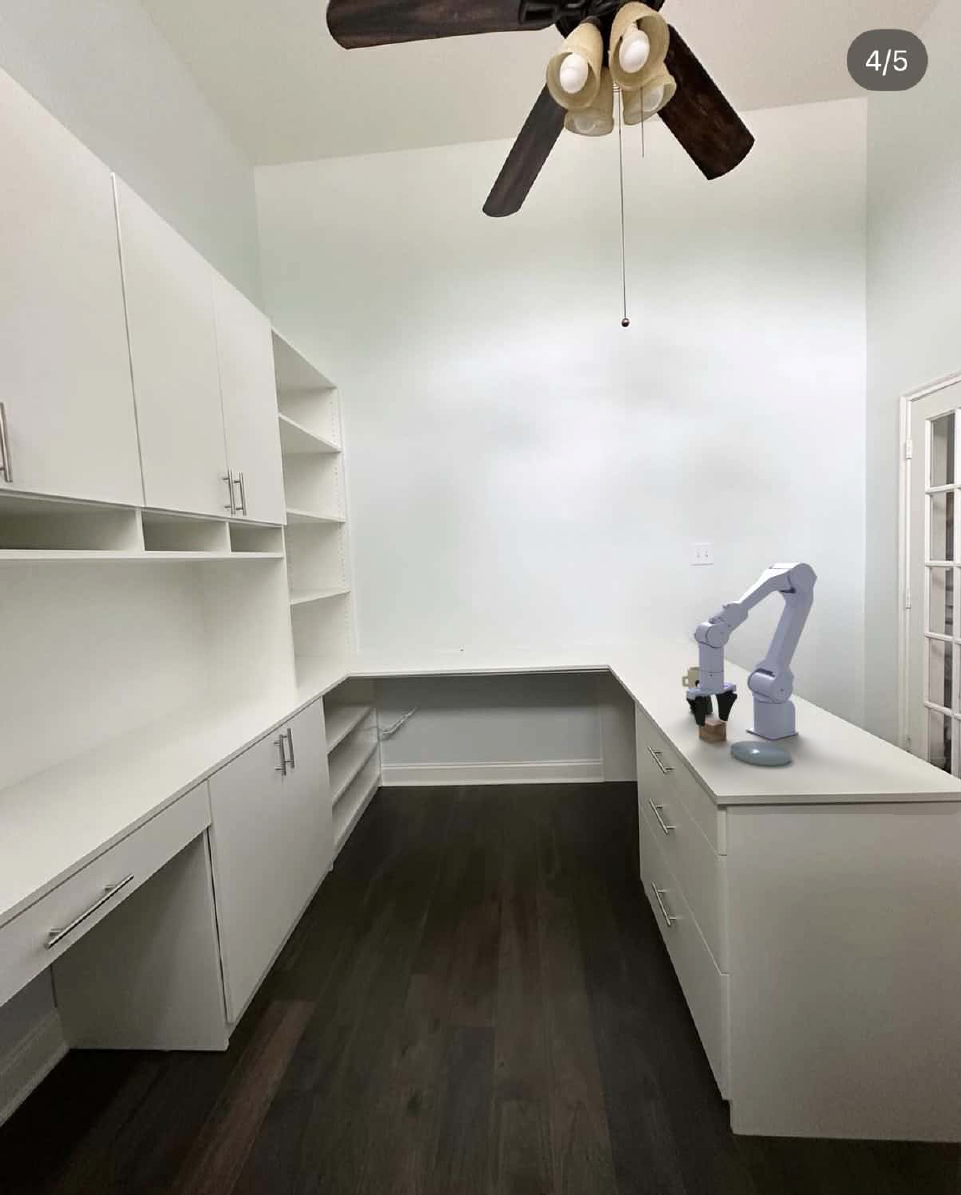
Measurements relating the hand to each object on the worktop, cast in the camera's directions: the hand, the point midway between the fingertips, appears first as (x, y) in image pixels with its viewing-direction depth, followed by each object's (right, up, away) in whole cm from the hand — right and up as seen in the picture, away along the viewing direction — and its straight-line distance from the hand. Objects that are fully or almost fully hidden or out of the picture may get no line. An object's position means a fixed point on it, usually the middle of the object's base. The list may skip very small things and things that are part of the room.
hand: (711, 722), depth 127 cm
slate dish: (+6, -5, -11) cm, 14 cm away
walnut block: (0, -4, 0) cm, 4 cm away
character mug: (+6, -2, +21) cm, 22 cm away
